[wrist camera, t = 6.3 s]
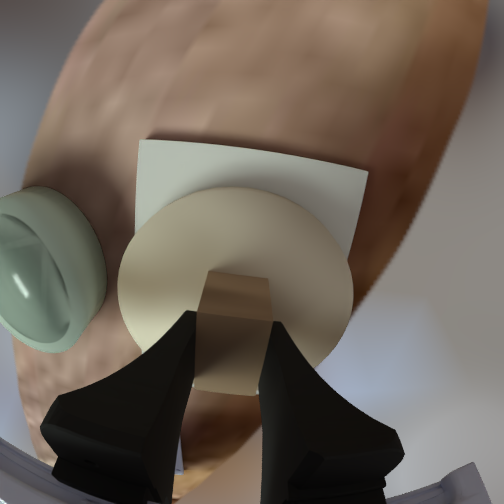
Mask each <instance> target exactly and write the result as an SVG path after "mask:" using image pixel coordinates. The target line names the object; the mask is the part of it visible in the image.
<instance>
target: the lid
mask: <svg viewBox="0 0 504 504" xmlns="http://www.w3.org/2000/svg"><path fill="white" fill-rule="evenodd" d="M117 285H118V300H119V306H120V310H121V313H122V316H123V319H124V322H125V324H126V326H127V328H128V330H129V332H130V334H131V335H132V337H133V338H134V340H135V341H136V343H137V344H138V345H139V347H140V348H141V349H142V350H143V351H144V352H145V351H147V350H148V349H149V348H150V347H151V346H152V345H153V344H154V343H156V342H157V341H158V340H159V339H160V338H161V337H162V336H163V335H164V334H165V333H166V332H167V331H168V330H169V329H170V328H171V327H172V326H173V324H174V323H175V322H176V321H177V320H178V319H179V318H180V316H181V315H182V314H183V313H184V312H185V311H186V310H191V311H197V319H196V342H195V376H194V381H193V384H194V389H195V390H202V391H210V392H217V393H226V394H235V395H246V396H255V395H256V391H257V390H258V383H259V379H260V375H261V371H262V367H263V363H264V358H265V354H266V350H267V346H268V342H269V337H270V333H271V329H272V325H273V321H281V322H282V324H283V325H284V327H285V328H286V330H287V332H288V333H289V335H290V337H291V338H292V340H293V341H294V343H295V344H296V346H297V347H298V349H299V350H300V352H301V353H302V354H303V356H304V357H305V358H306V360H307V361H308V362H309V364H310V365H311V366H312V367H313V368H314V367H316V366H317V365H318V364H320V363H321V362H322V361H323V360H324V359H325V358H326V357H327V356H328V355H329V354H330V353H331V351H332V350H333V349H334V348H335V347H336V345H337V344H338V342H339V340H340V339H341V337H342V336H343V334H344V332H345V329H346V327H347V325H348V322H349V319H350V315H351V312H352V305H353V282H352V276H351V271H350V268H349V265H348V262H347V259H346V257H345V255H344V253H343V251H342V250H341V248H340V246H339V244H338V243H337V242H336V240H335V239H334V238H333V236H332V235H331V234H330V232H329V231H328V230H327V228H326V227H325V226H324V225H323V224H322V223H321V222H320V221H319V220H318V219H317V218H316V217H315V216H314V215H313V214H311V213H310V212H309V211H307V210H306V209H304V208H303V207H302V206H300V205H299V204H297V203H295V202H293V201H291V200H289V199H287V198H285V197H283V196H280V195H277V194H274V193H272V192H269V191H265V190H260V189H255V188H250V187H235V186H229V187H215V188H210V189H205V190H201V191H197V192H194V193H191V194H188V195H186V196H183V197H181V198H179V199H177V200H175V201H173V202H171V203H170V204H168V205H166V206H165V207H164V208H162V209H161V210H160V211H158V212H157V213H156V214H154V215H153V216H152V217H151V218H150V219H149V220H148V221H147V222H146V223H145V224H144V225H143V226H142V227H141V228H140V229H139V230H138V231H137V233H136V234H135V236H134V237H133V238H132V240H131V241H130V243H129V245H128V247H127V249H126V251H125V253H124V255H123V258H122V261H121V265H120V268H119V274H118V282H117Z"/></svg>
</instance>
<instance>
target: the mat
mask: <svg viewBox="0 0 504 504" xmlns="http://www.w3.org/2000/svg"><path fill="white" fill-rule="evenodd" d="M367 176H368V171H365V170H361V169H357V168H352V167H348V166H344V165H339V164H335V163H330V162H325V161H320V160H315V159H310V158H305V157H300V156H294V155H288V154H282V153H276V152H270V151H264V150H257V149H250V148H242V147H234V146H226V145H217V144H207V143H196V142H184V141H170V140H151V139H140V143H139V154H138V167H137V182H136V206H135V234H136V233H137V231H138V230H139V229H140V228H141V227H142V226H143V225H144V224H145V223H146V222H147V221H148V220H149V219H150V218H151V217H152V216H153V215H154V214H156V213H157V212H158V211H160V210H161V209H162V208H164V207H165V206H166V205H168V204H170V203H171V202H173V201H175V200H177V199H179V198H181V197H183V196H186V195H188V194H191V193H194V192H197V191H201V190H205V189H210V188H215V187H229V186H235V187H250V188H255V189H260V190H265V191H269V192H272V193H274V194H277V195H280V196H283V197H285V198H287V199H289V200H291V201H293V202H295V203H297V204H299V205H300V206H302V207H303V208H304V209H306V210H307V211H309V212H310V213H311V214H313V215H314V216H315V217H316V218H317V219H318V220H319V221H320V222H321V223H322V224H323V225H324V226H325V227H326V228H327V230H328V231H329V232H330V234H331V235H332V236H333V238H334V239H335V240H336V242H337V243H338V244H339V246H340V248H341V250H342V251H343V253H344V255H345V257H346V259H348V255H349V252H350V248H351V244H352V241H353V237H354V233H355V229H356V225H357V221H358V217H359V213H360V208H361V204H362V200H363V195H364V190H365V186H366V181H367ZM143 353H144V351H143V350H142V354H143ZM192 387H194V384H192ZM256 394H259V391H258V390H257V391H256Z"/></svg>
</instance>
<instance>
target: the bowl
mask: <svg viewBox="0 0 504 504" xmlns="http://www.w3.org/2000/svg"><path fill="white" fill-rule="evenodd" d="M106 288H107V271H106V264H105V260H104V255H103V252H102V249H101V246H100V243H99V241H98V238H97V236H96V234H95V232H94V230H93V228H92V227H91V225H90V223H89V222H88V220H87V219H86V217H85V216H84V214H83V213H82V212H81V211H80V210H79V208H78V207H77V206H76V205H75V204H74V203H73V202H72V201H71V200H69V199H68V198H67V197H65V196H64V195H63V194H61V193H59V192H57V191H56V190H54V189H50V188H47V187H42V186H33V187H29V188H25V189H23V190H20V191H17V192H14V193H12V194H9V195H7V196H4V197H1V198H0V322H1V323H2V325H3V326H4V327H5V328H6V329H7V330H8V331H9V332H10V333H11V334H13V335H14V336H15V337H16V338H17V339H19V340H20V341H22V342H23V343H25V344H26V345H28V346H30V347H32V348H34V349H36V350H39V351H43V352H48V353H59V352H63V351H66V350H68V349H69V348H71V347H72V346H73V345H74V344H75V343H76V341H77V340H78V339H79V337H80V336H81V334H82V333H83V331H84V330H85V329H86V327H87V326H88V325H89V323H90V322H91V320H92V319H93V318H94V316H95V315H96V314H97V312H98V311H99V309H100V308H101V306H102V304H103V301H104V299H105V294H106Z"/></svg>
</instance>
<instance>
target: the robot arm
mask: <svg viewBox="0 0 504 504" xmlns="http://www.w3.org/2000/svg"><path fill="white" fill-rule="evenodd" d="M196 319H197V311H191V310H186V311H185V312H184V313H183V314H182V315H181V316H180V318H179V319H178V320H177V321H176V322H175V323H174V324H173V326H172V327H171V328H170V329H169V330H168V331H167V332H166V333H165V334H164V335H163V336H162V337H161V338H160V339H159V340H158V341H157V342H156V343H154V344H153V345H152V346H151V347H150V348H149V349H148V350H147V351H145V352H144V353H143V354H142V355H140V356H139V357H138V358H136V359H135V360H134V361H132V362H131V363H129V364H128V365H126V366H125V367H123V368H122V369H120V370H118V371H117V372H115V373H113V374H112V375H110V376H108V377H106V378H104V379H102V380H100V381H98V382H95V383H93V384H91V385H88V386H86V387H83V388H81V389H77V390H74V391H71V392H68V393H65V394H62V395H58V397H57V398H56V400H55V401H54V402H53V404H52V405H51V407H50V409H49V411H48V412H47V414H46V416H45V418H44V420H43V422H42V424H41V426H40V431H41V434H42V436H43V437H44V439H45V440H46V442H47V443H48V444H49V446H50V447H51V448H52V449H53V451H54V452H55V453H56V454H57V456H58V458H57V461H56V463H55V465H54V467H52V466H50V465H47V464H45V463H44V462H42V461H40V460H38V459H36V458H34V457H32V456H30V455H28V454H27V453H25V452H23V451H22V450H20V449H18V448H16V447H15V446H13V445H12V444H10V443H8V442H7V441H5V440H4V439H2V438H0V501H1V502H3V503H4V504H171V503H172V493H173V483H174V474H178V475H183V474H184V468H183V460H182V450H181V440H180V431H181V425H182V420H183V416H184V412H185V409H186V405H187V402H188V398H189V395H190V391H191V388H192V384H193V381H194V376H195V342H196ZM258 391H259V400H260V409H261V418H262V431H263V442H262V449H263V450H262V482H261V502H260V504H491V500H490V498H489V496H488V493H487V491H486V488H485V486H484V483H483V481H482V479H481V477H480V474H479V472H478V470H477V468H476V465H475V463H474V462H471V463H469V464H467V465H465V466H462V467H460V468H458V469H456V470H454V471H452V472H451V473H449V474H448V475H446V476H445V477H444V478H443V479H442V480H441V481H439V482H437V483H434V484H431V485H429V486H426V487H423V488H420V489H417V490H414V491H411V492H408V493H405V494H402V495H399V496H395V497H391V498H387V499H385V495H384V492H383V488H384V487H386V481H385V478H384V477H385V476H386V475H387V474H388V473H390V472H391V471H392V470H393V469H394V468H395V467H396V466H397V465H398V464H399V463H400V462H401V461H402V459H403V457H404V455H405V453H404V450H403V447H402V444H401V441H400V439H399V437H398V434H397V433H396V430H395V429H392V428H390V427H388V426H387V425H385V424H383V423H380V422H379V421H377V420H375V419H373V418H371V417H370V416H368V415H367V414H365V413H364V412H362V411H360V410H359V409H358V408H356V407H355V406H353V405H352V404H351V403H349V402H348V401H347V400H346V399H344V398H343V397H342V396H341V395H339V394H338V393H337V392H336V391H335V390H333V388H331V387H330V386H329V385H328V384H327V383H326V382H325V381H324V380H323V379H322V378H321V377H320V376H319V375H318V373H317V372H316V371H315V370H314V369H313V367H312V366H311V365H310V364H309V362H308V361H307V360H306V358H305V357H304V356H303V354H302V353H301V352H300V350H299V349H298V347H297V346H296V344H295V343H294V341H293V340H292V338H291V337H290V335H289V333H288V332H287V330H286V328H285V327H284V325H283V324H282V322H281V321H273V325H272V329H271V333H270V337H269V342H268V346H267V350H266V354H265V358H264V363H263V367H262V371H261V375H260V379H259V383H258Z"/></svg>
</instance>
